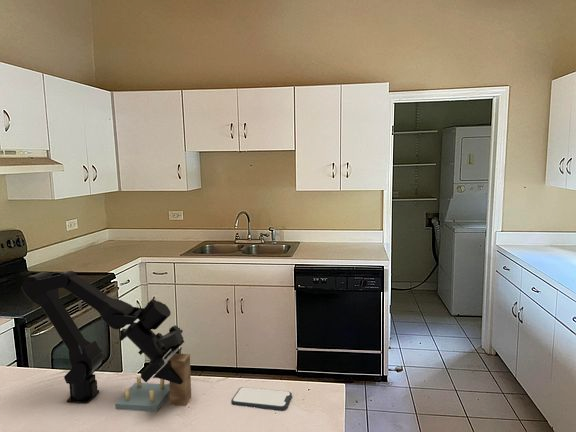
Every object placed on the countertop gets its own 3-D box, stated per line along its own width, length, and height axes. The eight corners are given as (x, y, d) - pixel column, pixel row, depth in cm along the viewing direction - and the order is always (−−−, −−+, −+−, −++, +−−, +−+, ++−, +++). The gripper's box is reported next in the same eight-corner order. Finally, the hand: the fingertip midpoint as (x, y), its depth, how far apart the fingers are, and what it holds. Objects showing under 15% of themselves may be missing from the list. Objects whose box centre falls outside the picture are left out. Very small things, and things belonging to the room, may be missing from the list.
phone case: (230, 406, 123) (285, 413, 119) (229, 401, 123) (285, 407, 119) (240, 391, 131) (292, 396, 127) (240, 386, 131) (292, 391, 127)
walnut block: (170, 404, 123) (168, 360, 121) (176, 396, 127) (174, 353, 126) (185, 405, 122) (184, 361, 121) (191, 397, 127) (189, 354, 125)
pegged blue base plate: (115, 409, 121) (114, 393, 120) (135, 387, 133) (134, 373, 132) (157, 411, 119) (156, 395, 119) (173, 389, 131) (173, 375, 131)
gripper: (150, 333, 113) (192, 376, 113) (176, 310, 132) (213, 347, 132) (122, 361, 115) (164, 403, 115) (152, 334, 134) (189, 370, 134)
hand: (184, 379), depth 124 cm, fingers closed on walnut block, 4 cm apart
